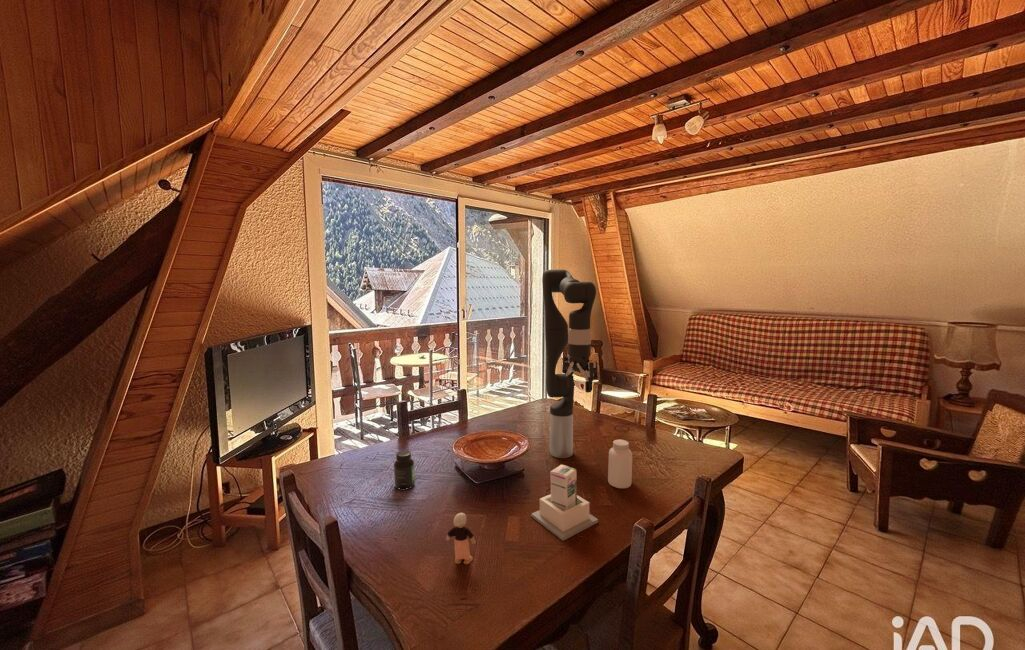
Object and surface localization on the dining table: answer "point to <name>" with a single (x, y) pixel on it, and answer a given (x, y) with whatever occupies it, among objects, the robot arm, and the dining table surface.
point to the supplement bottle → (404, 470)
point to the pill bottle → (620, 465)
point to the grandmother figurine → (461, 539)
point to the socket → (564, 517)
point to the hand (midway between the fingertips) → (579, 389)
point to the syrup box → (563, 487)
